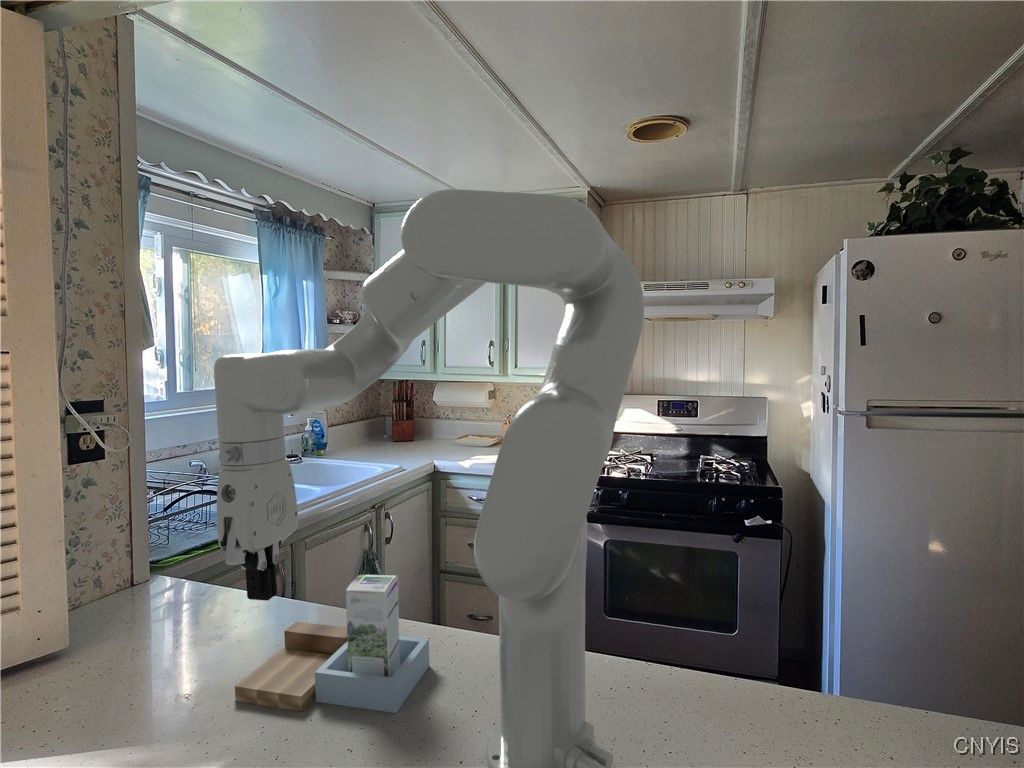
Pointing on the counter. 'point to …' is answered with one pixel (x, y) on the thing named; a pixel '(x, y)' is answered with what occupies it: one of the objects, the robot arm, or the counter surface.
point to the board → (283, 680)
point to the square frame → (372, 679)
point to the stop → (315, 638)
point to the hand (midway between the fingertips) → (262, 596)
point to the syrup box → (373, 625)
